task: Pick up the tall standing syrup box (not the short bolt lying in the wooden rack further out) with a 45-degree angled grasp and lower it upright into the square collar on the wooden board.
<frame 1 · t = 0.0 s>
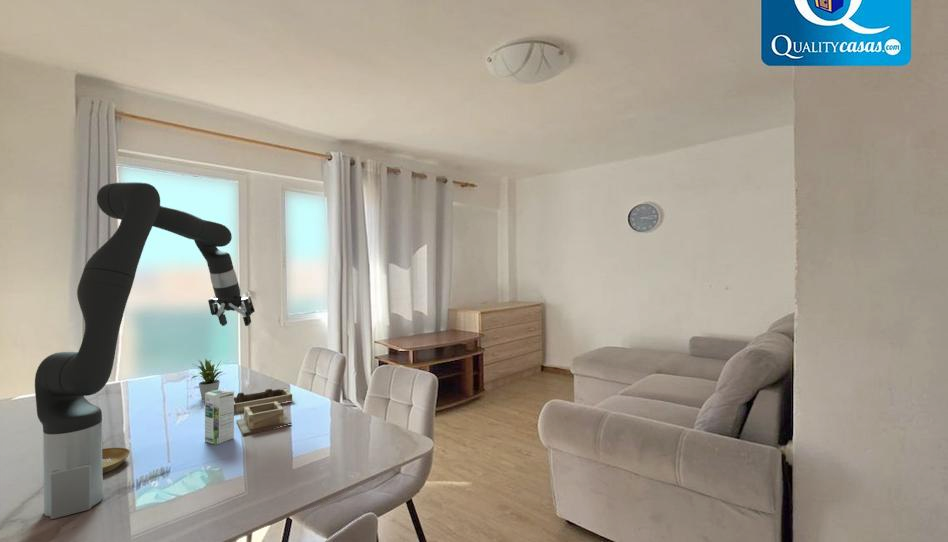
hand: (236, 324, 147), 31 cm above the table, tool tilted 20°, fingers open, 8 cm apart
plant saucer: (93, 470, 107), on the table
bolt: (260, 389, 159), point 5 cm above the table
syrup box: (219, 440, 125), on the table
socket: (263, 423, 137), on the table
bolt rack: (260, 404, 157), on the table
house plant: (205, 398, 165), on the table
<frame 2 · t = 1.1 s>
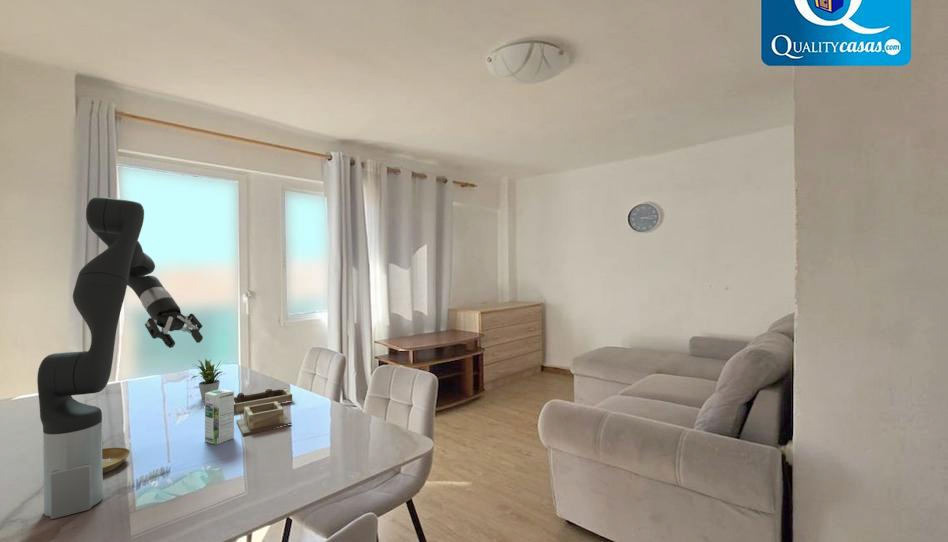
hand: (186, 343, 127), 29 cm above the table, tool tilted 45°, fingers open, 8 cm apart
nothing on the table moved.
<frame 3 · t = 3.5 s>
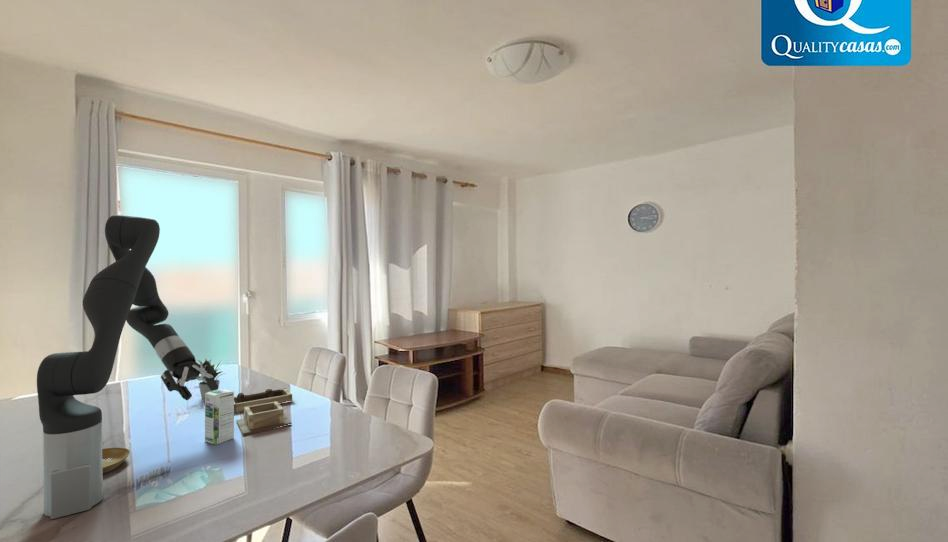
hand: (202, 394, 125), 14 cm above the table, tool tilted 45°, fingers open, 8 cm apart
nothing on the table moved.
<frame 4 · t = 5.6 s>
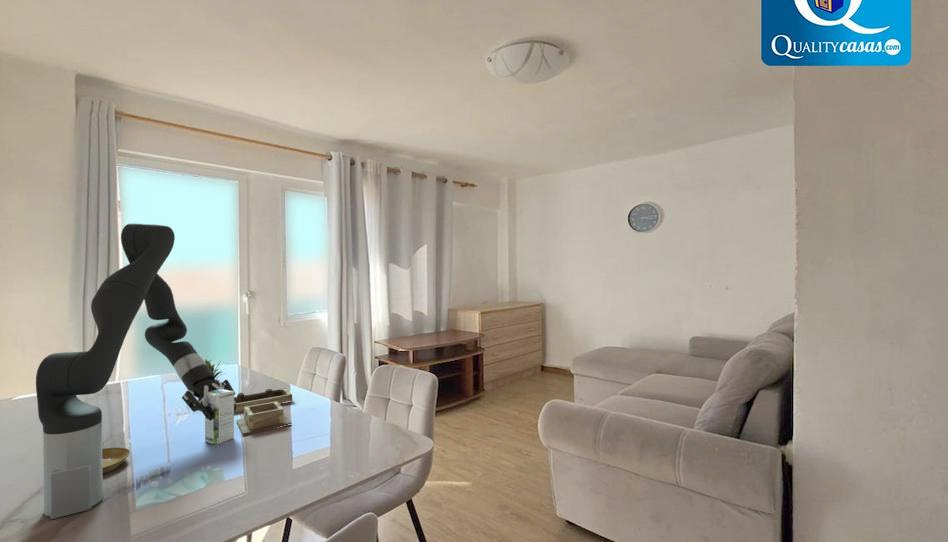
hand: (223, 414, 124), 8 cm above the table, tool tilted 45°, fingers closed on syrup box, 6 cm apart
syrup box: (219, 440, 125), on the table, touching gripper
everything else where it was.
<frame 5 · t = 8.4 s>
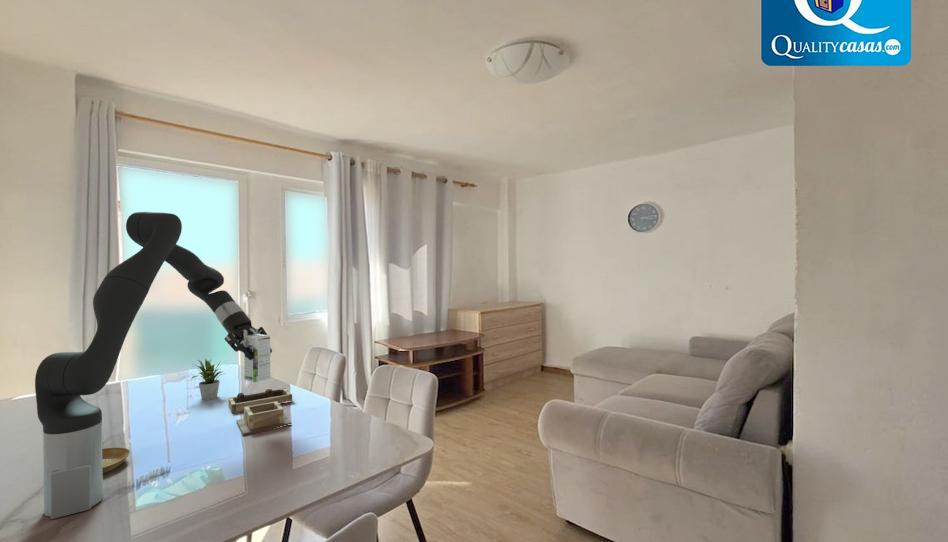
hand: (261, 355, 136), 23 cm above the table, tool tilted 45°, fingers closed on syrup box, 6 cm apart
syrup box: (257, 379, 136), point 15 cm above the table, touching gripper
everything else where it was.
when the fingers open (10 cm above the table, at t = 11.4 s): syrup box drops 1 cm, resting on socket.
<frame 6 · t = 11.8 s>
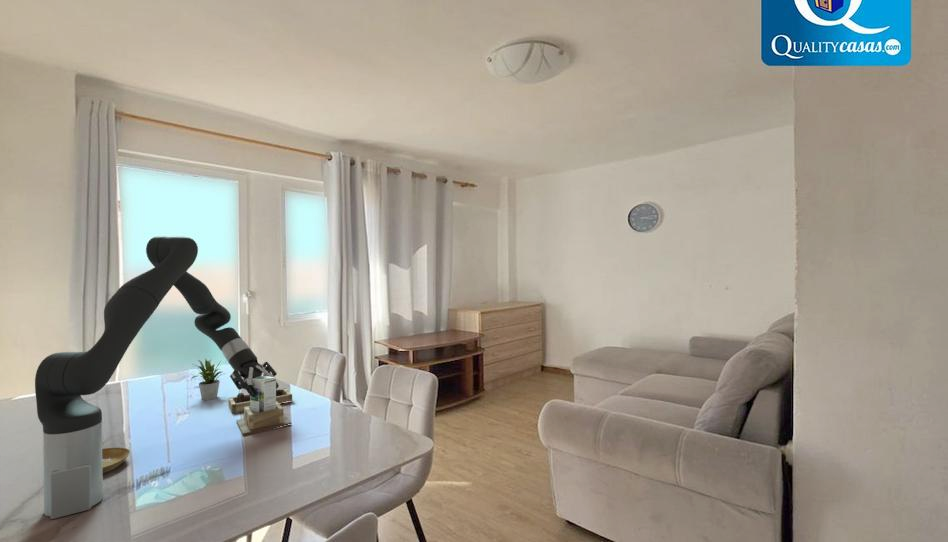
hand: (266, 392, 137), 11 cm above the table, tool tilted 45°, fingers open, 8 cm apart
syrup box: (263, 422, 137), point 1 cm above the table, touching socket
everything else where it was.
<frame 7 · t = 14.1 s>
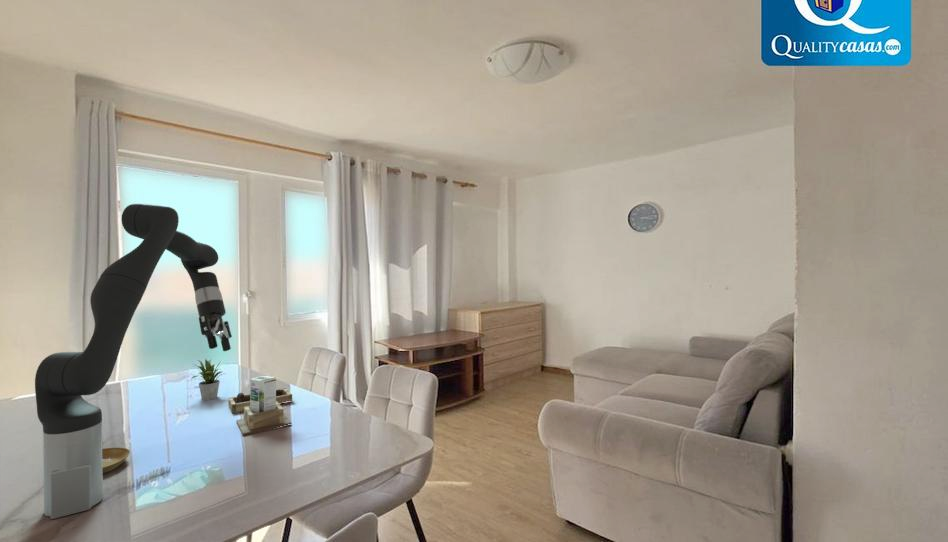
hand: (220, 349, 135), 25 cm above the table, tool tilted 25°, fingers open, 8 cm apart
nothing on the table moved.
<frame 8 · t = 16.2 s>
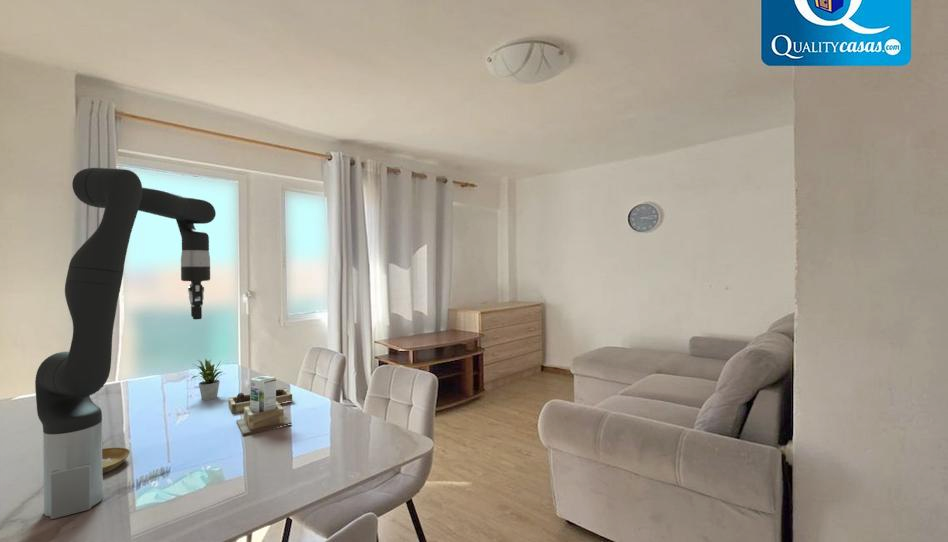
hand: (196, 317, 129), 36 cm above the table, tool pointing down, fingers open, 8 cm apart
nothing on the table moved.
at the end: syrup box 0.1 cm off-centre on the socket, point 0.6 cm above the socket's base; syrup box tilted 0°; the gripper is holding nothing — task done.
